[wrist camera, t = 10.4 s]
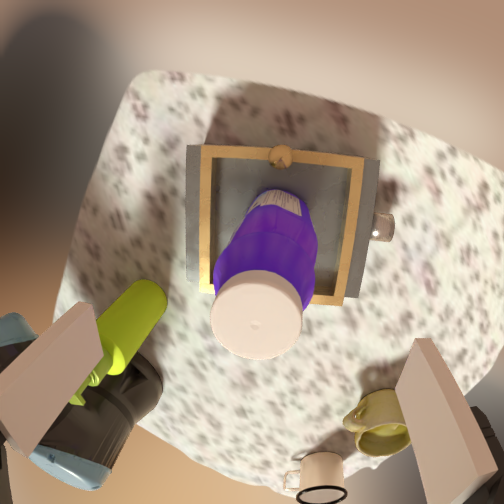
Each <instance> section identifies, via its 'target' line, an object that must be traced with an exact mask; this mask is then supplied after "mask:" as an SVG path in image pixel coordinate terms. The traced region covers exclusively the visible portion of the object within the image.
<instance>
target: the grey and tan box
mask: <svg viewBox="0 0 504 504" xmlns="http://www.w3.org/2000/svg"><path fill="white" fill-rule="evenodd" d="M379 166H380V160H375V159H371V158H366V157H360V156H352V155H345V154H337V153H329V152H320V151H310V150H300V149H291V148H290V147H289V146H287V145H277V146H274V147H261V146H242V145H215V144H198V145H187V153H186V273H187V281H190V282H198V283H200V292H204V293H213V294H215V291H214V284H213V273H214V267H215V264H216V261H217V259H218V258H219V256H220V255H221V253H222V252H223V251H224V249H225V248H226V247H227V244H228V242H229V240H230V238H231V236H232V234H233V232H234V231H235V229H236V228H237V226H238V225H239V223H240V222H241V220H242V219H243V218H244V216H245V214H246V212H247V210H248V209H249V207H250V205H251V204H252V202H253V201H254V200H255V198H256V197H258V196H259V195H260V194H261V193H263V192H264V191H267V190H271V189H278V190H282V191H287V192H289V193H291V194H294V195H295V196H297V197H298V198H299V199H300V200H302V201H303V202H304V203H305V204H306V206H307V207H308V209H309V212H310V216H311V220H312V223H313V226H314V230H315V233H316V236H317V240H318V250H317V257H316V262H315V266H314V271H315V286H314V292H313V297H312V298H311V301H310V304H321V305H334V306H342V304H343V299H344V297H351V298H358V296H359V291H360V287H361V282H362V277H363V272H364V267H365V261H366V256H367V250H368V245H369V240H374V241H383V242H390V241H391V240H392V238H393V235H394V229H395V221H394V217H393V215H392V214H386V213H378V212H374V207H375V199H376V192H377V183H378V175H379Z"/></svg>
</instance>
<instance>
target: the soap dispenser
mask: <svg viewBox="0 0 504 504" xmlns="http://www.w3.org/2000/svg"><path fill="white" fill-rule="evenodd" d="M166 308H167V298H166V295H165V293H164V291H163V290H162V289H161V288H160V287H159V286H158V285H157V284H156V283H154V282H152V281H150V280H144V279H142V280H138V281H136V282H134V283H133V284H132V285H131V286H130V287H129V288H128V289H127V290H126V291H125V292H124V293H123V294H122V295H121V296H120V297H119V298H118V299H117V300H116V301H115V302H114V303H113V304H112V305H111V306H110V307H109V308H108V309H107V310H106V311H105V312H104V313H103V314H102V315H101V316H100V317H99V318H98V319H97V320H96V324H97V328H98V333H99V337H100V342H101V346H102V350H103V354H104V356H103V357H102V359H101V360H100V361H99V362H98V364H97V365H96V366H95V368H94V369H93V370H92V371H91V373H90V374H89V375H88V377H87V378H86V379H85V381H84V382H83V383H82V384H81V386H80V387H79V388H78V390H77V391H76V392H75V394H74V395H73V396H72V398H71V399H70V400H69V403H70V404H74V405H82V406H84V404H85V403H86V401H85V400H84V399H83V397H82V396H81V394H82V392H83V391H84V390H85V388H86V387H87V386H88V385H89V386H98V385H99V384H100V382H101V381H102V380H103V378H104V377H105V375H106V374H109V375H118V374H120V373H122V372H123V371H124V369H125V368H126V366H127V365H128V363H129V362H130V360H131V359H132V358H133V356H134V355H135V353H136V352H137V350H138V349H139V347H140V346H141V345H142V343H143V342H144V340H145V339H146V337H147V336H148V335H149V333H150V332H151V330H152V329H153V327H154V326H155V325H156V323H157V322H158V320H159V319H160V318H161V316H162V315H163V313H164V312H165V310H166Z"/></svg>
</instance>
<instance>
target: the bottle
mask: <svg viewBox="0 0 504 504" xmlns="http://www.w3.org/2000/svg"><path fill="white" fill-rule="evenodd" d="M317 250H318V240H317V236H316V233H315V230H314V226H313V223H312V220H311V216H310V212H309V209H308V207H307V206H306V204H305V203H304V202H303V201H302V200H300V199H299V198H298V197H297V196H295V195H294V194H291V193H289V192H287V191H282V190H278V189H271V190H267V191H264V192H263V193H261V194H260V195H259V196H258V197H256V198H255V200H254V201H253V202H252V204H251V205H250V207H249V209H248V210H247V212H246V214H245V216H244V218H243V219H242V220H241V222H240V223H239V225H238V226H237V228H236V229H235V231H234V232H233V234H232V236H231V238H230V240H229V242H228V244H227V247H226V248H225V249H224V251H223V252H222V253H221V255H220V256H219V258H218V259H217V261H216V264H215V267H214V273H213V284H214V291H215V295H216V298H215V301H214V303H213V305H212V308H211V312H210V323H211V327H212V331H213V333H214V335H215V337H216V338H217V340H218V341H219V342H220V344H221V345H222V346H223V347H225V348H226V349H227V350H229V351H230V352H232V353H233V354H235V355H238V356H240V357H243V358H247V359H253V360H265V359H270V358H274V357H277V356H279V355H281V354H283V353H285V352H286V351H288V350H289V349H290V348H291V347H292V346H293V345H294V344H295V343H296V341H297V340H298V338H299V336H300V333H301V330H302V314H303V311H304V310H305V308H306V307H307V305H308V304H309V303H310V301H311V298H312V297H313V292H314V286H315V271H314V266H315V262H316V257H317Z"/></svg>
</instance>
